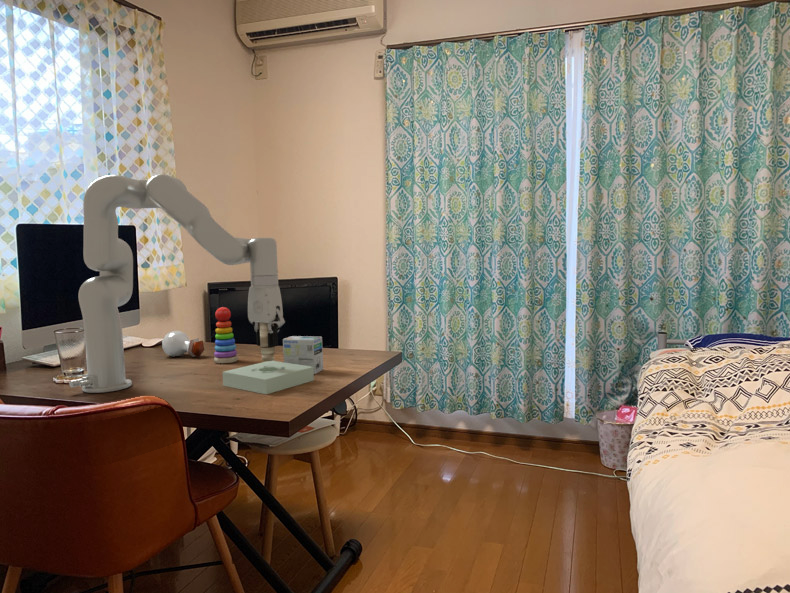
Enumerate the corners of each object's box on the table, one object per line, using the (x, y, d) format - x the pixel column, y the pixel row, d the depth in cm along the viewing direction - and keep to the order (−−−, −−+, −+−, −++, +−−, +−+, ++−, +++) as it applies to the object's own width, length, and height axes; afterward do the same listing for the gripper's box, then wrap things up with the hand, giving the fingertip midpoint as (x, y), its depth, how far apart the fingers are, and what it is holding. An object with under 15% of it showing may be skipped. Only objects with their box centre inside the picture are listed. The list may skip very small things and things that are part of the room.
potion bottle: (167, 358, 212) (200, 365, 207) (151, 347, 204) (185, 354, 199) (178, 336, 216) (211, 342, 211) (163, 324, 208) (197, 330, 203)
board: (266, 394, 153) (265, 379, 152) (223, 385, 163) (222, 371, 163) (313, 380, 167) (313, 366, 167) (271, 373, 178) (270, 360, 178)
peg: (267, 362, 162) (265, 319, 161) (257, 360, 164) (255, 318, 163) (278, 359, 165) (276, 317, 164) (268, 358, 168) (267, 317, 167)
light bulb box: (324, 369, 181) (322, 335, 180) (315, 374, 175) (314, 339, 174) (292, 368, 184) (291, 335, 183) (283, 373, 178) (281, 338, 177)
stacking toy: (241, 359, 201) (239, 305, 199) (233, 364, 193) (230, 308, 191) (219, 359, 201) (217, 306, 200) (210, 364, 193) (207, 308, 192)
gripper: (234, 282, 165) (237, 345, 166) (274, 283, 155) (277, 350, 156) (255, 280, 171) (258, 341, 172) (295, 281, 161) (297, 346, 162)
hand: (267, 345), depth 164 cm, fingers closed on peg, 4 cm apart
